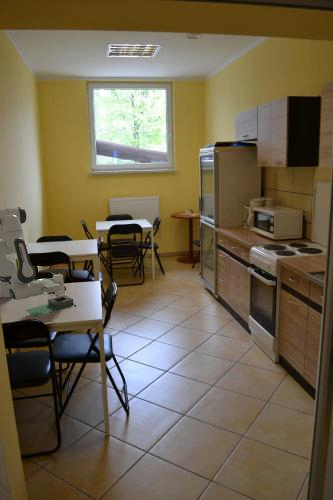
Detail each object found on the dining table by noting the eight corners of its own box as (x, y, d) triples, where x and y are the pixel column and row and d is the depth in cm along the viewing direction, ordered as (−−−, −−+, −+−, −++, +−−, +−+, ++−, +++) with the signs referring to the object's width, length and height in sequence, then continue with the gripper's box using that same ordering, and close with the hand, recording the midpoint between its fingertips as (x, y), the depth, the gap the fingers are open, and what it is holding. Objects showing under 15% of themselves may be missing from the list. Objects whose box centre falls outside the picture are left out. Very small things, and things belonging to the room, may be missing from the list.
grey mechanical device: (66, 277, 275) (50, 281, 268) (67, 291, 277) (51, 295, 270) (56, 272, 289) (41, 275, 282) (58, 285, 291) (42, 289, 284)
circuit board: (25, 311, 241) (25, 310, 240) (65, 300, 257) (65, 299, 257) (35, 318, 230) (35, 316, 229) (76, 306, 246) (76, 304, 246)
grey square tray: (48, 304, 248) (47, 299, 247) (65, 300, 255) (64, 294, 254) (56, 309, 239) (55, 303, 239) (73, 304, 246) (73, 299, 246)
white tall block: (55, 293, 246) (52, 268, 242) (61, 292, 248) (58, 267, 245) (58, 295, 242) (55, 270, 239) (64, 293, 245) (62, 268, 242)
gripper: (45, 286, 227) (67, 280, 236) (31, 279, 243) (52, 274, 251) (46, 296, 229) (68, 290, 237) (32, 289, 244) (53, 284, 253)
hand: (60, 282), depth 244 cm, fingers closed on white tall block, 4 cm apart
